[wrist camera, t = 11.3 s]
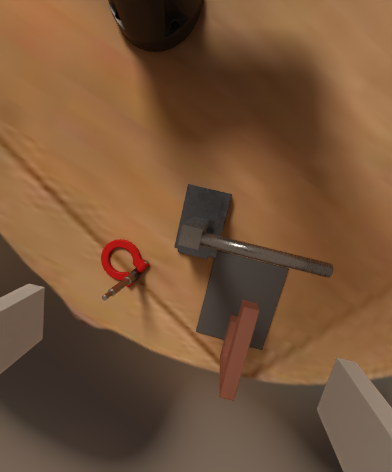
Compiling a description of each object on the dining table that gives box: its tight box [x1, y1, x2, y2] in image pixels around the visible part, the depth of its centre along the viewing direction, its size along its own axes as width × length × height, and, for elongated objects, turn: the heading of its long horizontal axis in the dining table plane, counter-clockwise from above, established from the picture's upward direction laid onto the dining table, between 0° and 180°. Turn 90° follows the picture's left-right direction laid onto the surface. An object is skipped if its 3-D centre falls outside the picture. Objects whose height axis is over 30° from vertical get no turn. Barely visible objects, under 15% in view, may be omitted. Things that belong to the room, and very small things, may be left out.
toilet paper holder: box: [175, 184, 333, 278], centre depth 34 cm, size 12×20×18 cm, turn 77°
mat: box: [196, 251, 289, 350], centre depth 45 cm, size 18×14×1 cm
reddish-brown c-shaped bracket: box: [220, 300, 259, 401], centre depth 41 cm, size 10×2×17 cm
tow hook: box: [101, 239, 149, 300], centre depth 40 cm, size 8×13×9 cm
